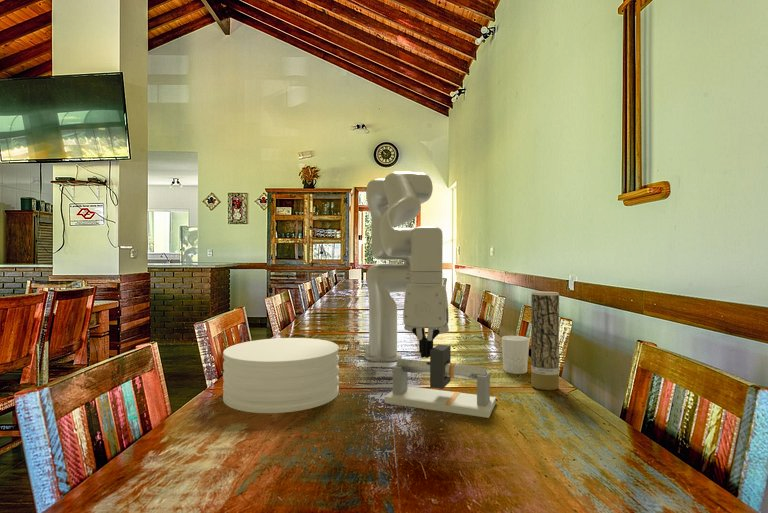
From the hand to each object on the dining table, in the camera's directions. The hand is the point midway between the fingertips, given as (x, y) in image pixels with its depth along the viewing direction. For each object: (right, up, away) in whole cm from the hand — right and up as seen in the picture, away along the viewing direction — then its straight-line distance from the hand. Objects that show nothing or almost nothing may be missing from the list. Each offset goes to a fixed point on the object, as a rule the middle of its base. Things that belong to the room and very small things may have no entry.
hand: (426, 356), depth 104 cm
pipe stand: (+3, -11, -1) cm, 11 cm away
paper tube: (+32, -11, +11) cm, 36 cm away
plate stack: (-35, -11, +6) cm, 38 cm away
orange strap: (+6, -9, -2) cm, 11 cm away
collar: (+3, -6, -1) cm, 7 cm away
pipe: (+3, -4, -1) cm, 5 cm away
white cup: (+29, -11, +28) cm, 42 cm away
